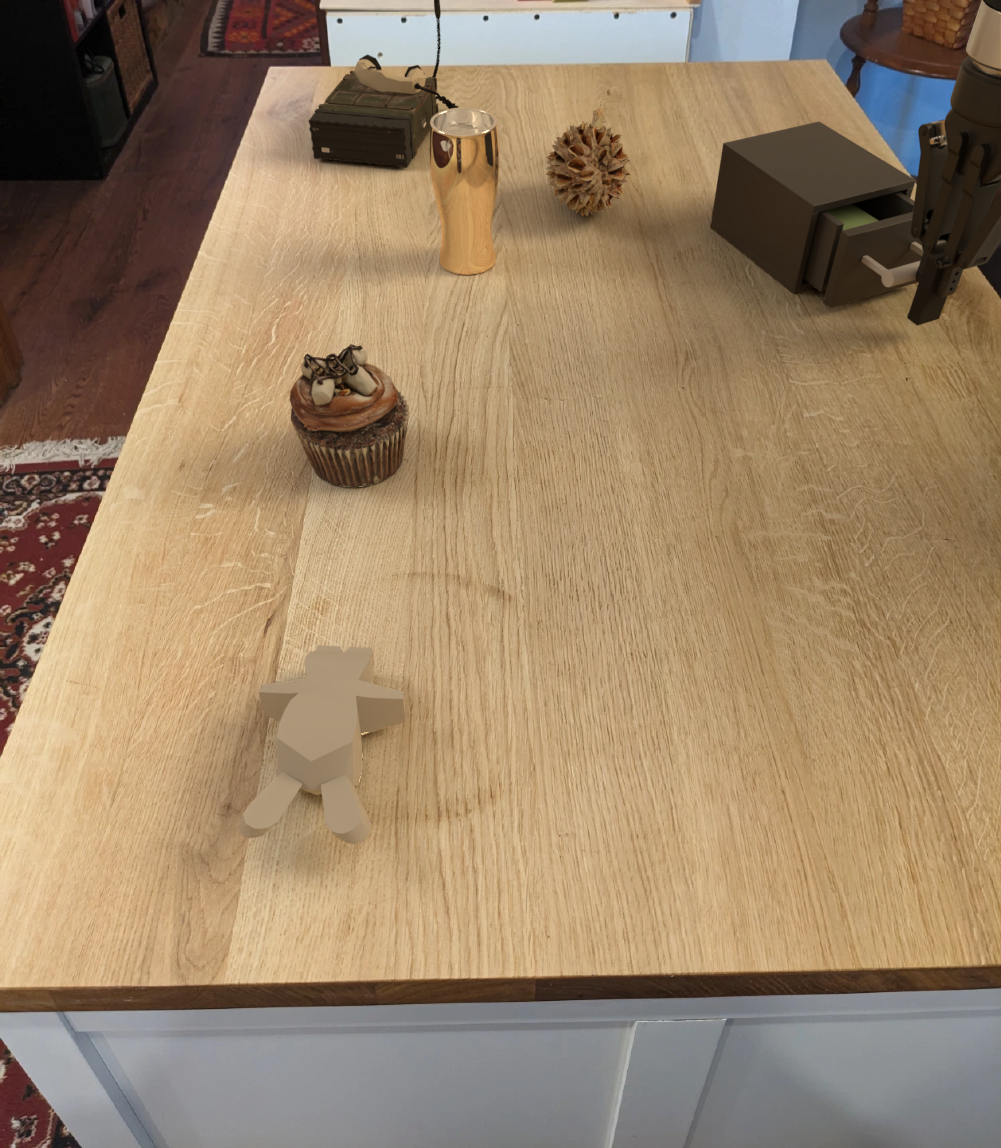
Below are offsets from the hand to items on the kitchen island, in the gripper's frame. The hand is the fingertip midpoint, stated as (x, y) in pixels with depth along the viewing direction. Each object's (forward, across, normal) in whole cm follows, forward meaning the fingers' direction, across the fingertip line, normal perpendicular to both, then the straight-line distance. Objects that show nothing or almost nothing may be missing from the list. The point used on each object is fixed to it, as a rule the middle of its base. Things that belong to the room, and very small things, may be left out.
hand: (923, 318), depth 98 cm
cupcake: (+3, +7, +56) cm, 56 cm away
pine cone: (+3, +40, +15) cm, 43 cm away
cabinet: (+2, +19, 0) cm, 20 cm away
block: (0, +13, 0) cm, 13 cm away
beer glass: (+3, +32, +34) cm, 47 cm away
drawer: (+1, +12, 0) cm, 12 cm away
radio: (+3, +67, +28) cm, 72 cm away
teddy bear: (+2, -21, +68) cm, 71 cm away
